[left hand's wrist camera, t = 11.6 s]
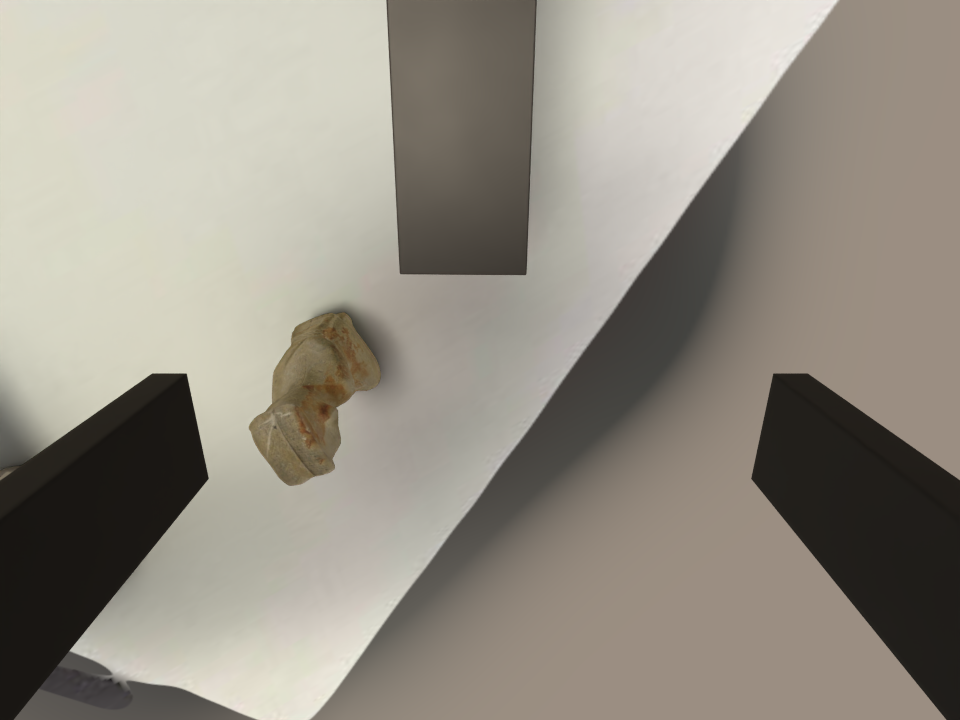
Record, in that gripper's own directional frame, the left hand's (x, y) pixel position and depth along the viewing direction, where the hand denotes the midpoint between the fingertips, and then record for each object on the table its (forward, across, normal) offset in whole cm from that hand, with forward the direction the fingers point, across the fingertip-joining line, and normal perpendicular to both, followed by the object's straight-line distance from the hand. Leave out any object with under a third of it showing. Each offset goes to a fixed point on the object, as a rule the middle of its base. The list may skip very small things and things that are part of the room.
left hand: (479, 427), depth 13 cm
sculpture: (+31, +11, +9) cm, 34 cm away
